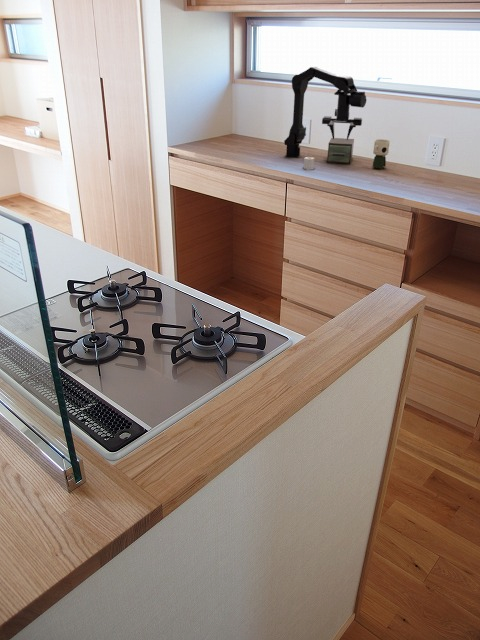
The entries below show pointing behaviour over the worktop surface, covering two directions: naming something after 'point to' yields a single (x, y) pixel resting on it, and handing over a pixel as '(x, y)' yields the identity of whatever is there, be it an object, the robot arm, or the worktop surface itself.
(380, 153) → the toy figurine
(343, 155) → the drawer
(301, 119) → the robot arm
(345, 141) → the cabinet
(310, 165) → the tissue roll
